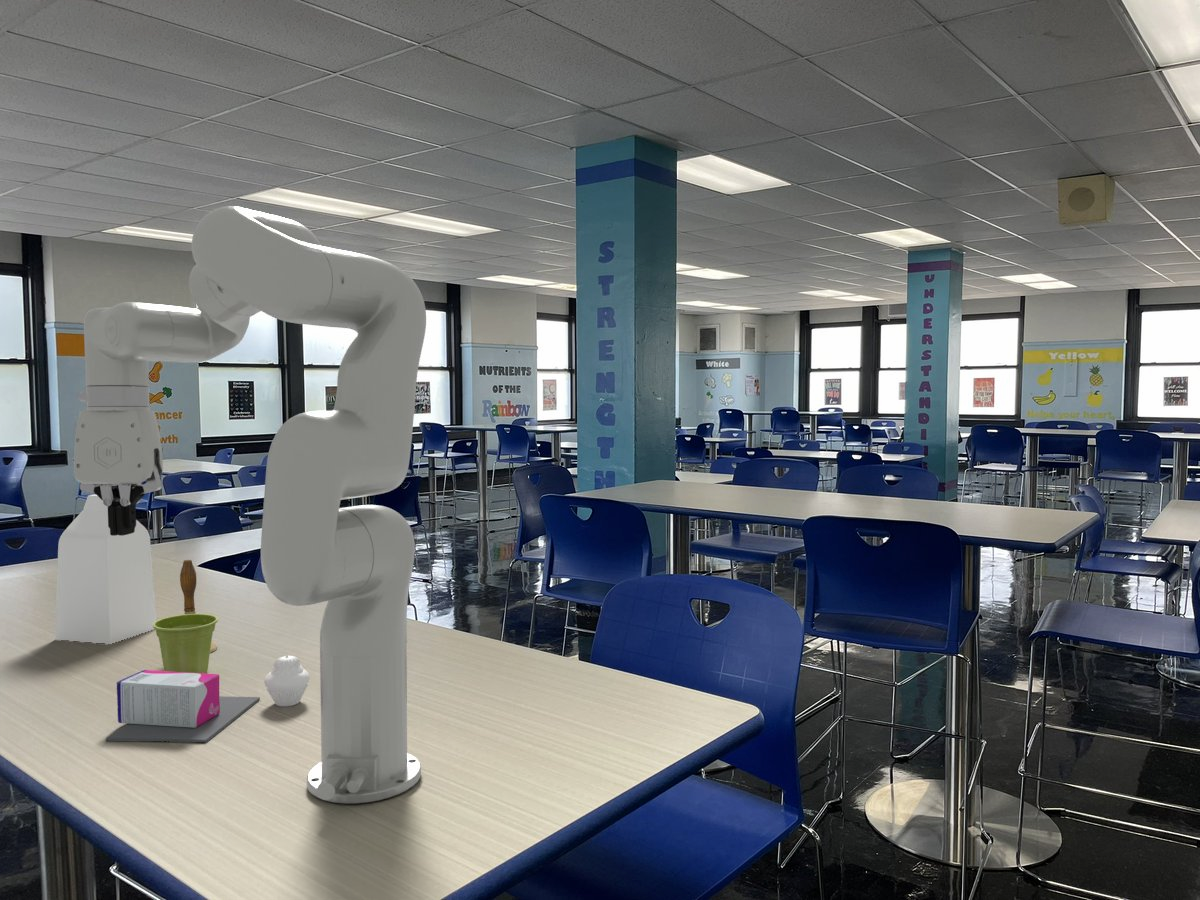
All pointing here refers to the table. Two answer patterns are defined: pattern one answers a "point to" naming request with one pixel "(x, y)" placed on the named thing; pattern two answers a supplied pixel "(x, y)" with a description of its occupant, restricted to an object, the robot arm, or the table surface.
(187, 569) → the hand bell
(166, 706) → the supplement box
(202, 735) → the mat
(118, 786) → the table surface
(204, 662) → the plant pot
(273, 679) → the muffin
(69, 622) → the milk
